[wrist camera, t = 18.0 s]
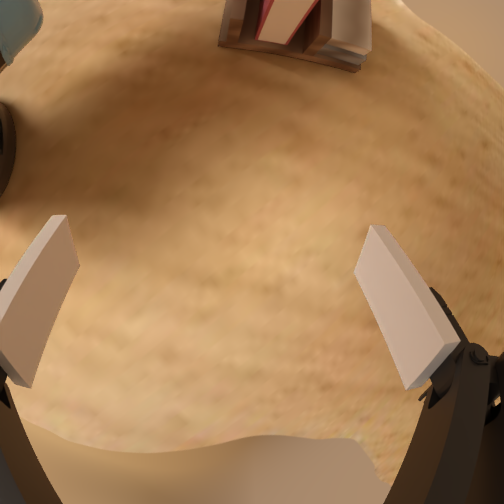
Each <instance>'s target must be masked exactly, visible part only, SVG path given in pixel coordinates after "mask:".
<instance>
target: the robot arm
mask: <svg viewBox="0 0 504 504" xmlns="http://www.w3.org/2000/svg"><path fill="white" fill-rule="evenodd" d="M42 23H43V11H42V8H41V6H40V4H39V2H38V0H0V73H1V72H2V71H3V70H4V69H5V68H6V67H7V66H10V65H11V64H12V62H13V61H14V58H15V56H16V55H17V54H18V53H19V52H20V51H21V50H22V49H23V48H24V47H25V46H26V45H27V44H28V43H29V42H30V41H31V40H32V39H33V38H34V37H35V36H36V34H37V33H38V32H39V30H40V28H41V26H42ZM15 149H16V136H15V128H14V123H13V120H12V117H11V115H10V113H9V111H8V109H7V108H6V107H5V106H4V105H3V104H2V103H0V196H1V195H2V193H3V191H4V190H5V188H6V185H7V183H8V181H9V178H10V175H11V172H12V168H13V164H14V158H15ZM79 267H80V264H79V261H78V257H77V254H76V250H75V246H74V243H73V239H72V235H71V231H70V227H69V223H68V218H67V215H52V216H51V218H50V219H49V220H48V221H47V223H46V224H45V225H44V227H43V228H42V229H41V231H40V232H39V233H38V235H37V236H36V237H35V239H34V240H33V242H32V243H31V244H30V246H29V247H28V249H27V250H26V252H25V253H24V255H23V256H22V257H21V259H20V260H19V262H18V263H17V265H16V266H15V268H14V270H13V271H12V273H11V274H10V276H9V277H8V279H3V280H2V281H1V282H0V504H63V503H62V502H61V500H60V498H59V497H58V495H57V493H56V492H55V490H54V488H53V487H52V485H51V483H50V481H49V480H48V478H47V476H46V474H45V472H44V470H43V468H42V466H41V464H40V463H39V461H38V459H37V456H36V455H35V452H34V450H33V448H32V446H31V444H30V442H29V439H28V437H27V435H26V432H25V430H24V428H23V425H22V423H21V420H20V418H19V415H18V412H17V410H16V407H15V404H14V402H13V399H12V396H11V393H10V390H9V387H8V386H7V384H6V383H5V381H6V378H7V375H8V377H9V378H10V379H11V380H12V381H13V382H14V384H16V385H20V386H23V387H27V388H31V387H32V383H33V380H34V377H35V374H36V371H37V368H38V365H39V362H40V359H41V356H42V354H43V351H44V348H45V345H46V343H47V340H48V337H49V335H50V332H51V330H52V327H53V325H54V322H55V320H56V317H57V315H58V312H59V310H60V308H61V305H62V303H63V301H64V299H65V296H66V294H67V292H68V290H69V288H70V285H71V283H72V281H73V279H74V277H75V275H76V273H77V271H78V269H79ZM354 274H355V276H356V278H357V280H358V282H359V284H360V287H361V289H362V291H363V293H364V295H365V297H366V299H367V301H368V303H369V306H370V308H371V310H372V312H373V314H374V316H375V319H376V321H377V323H378V325H379V327H380V330H381V332H382V334H383V337H384V339H385V341H386V343H387V346H388V348H389V350H390V353H391V355H392V358H393V360H394V362H395V365H396V367H397V370H398V372H399V375H400V377H401V380H402V382H403V385H404V387H405V390H409V389H414V388H418V387H421V386H422V385H423V384H424V383H425V382H426V381H427V380H428V379H429V378H430V379H431V382H432V385H431V386H430V387H429V388H428V389H427V390H426V391H425V392H424V393H423V394H422V395H421V396H420V398H419V399H418V400H419V401H421V400H422V399H423V398H424V397H425V396H426V399H425V401H424V405H423V409H422V412H421V415H420V418H419V421H418V424H417V427H416V429H415V432H414V435H413V438H412V440H411V443H410V446H409V448H408V451H407V453H406V456H405V458H404V461H403V463H402V465H401V468H400V470H399V472H398V474H397V477H396V479H395V481H394V483H393V485H392V487H391V490H390V492H389V494H388V496H387V498H386V500H385V502H384V504H504V352H503V353H502V354H501V355H500V356H499V357H497V356H490V355H488V353H487V351H486V350H485V349H484V348H483V347H482V346H480V345H479V344H476V343H469V341H468V339H467V338H466V336H465V334H464V332H463V331H462V329H461V327H460V326H459V324H458V322H457V321H456V319H455V317H454V316H453V315H452V312H451V311H450V309H449V308H447V304H446V303H445V301H444V300H443V298H442V297H441V295H440V294H438V293H437V292H436V291H435V290H434V289H433V288H432V287H428V286H427V284H426V283H425V281H424V280H423V278H422V277H421V275H420V274H419V272H418V271H417V269H416V268H415V266H414V265H413V264H412V262H411V261H410V259H409V258H408V256H407V255H406V254H405V252H404V251H403V249H402V248H401V247H400V245H399V244H398V242H397V241H396V240H395V238H394V237H393V236H392V234H391V233H390V232H389V230H388V229H387V228H386V226H385V225H372V224H371V225H370V228H369V231H368V234H367V237H366V240H365V242H364V245H363V248H362V251H361V254H360V256H359V259H358V262H357V265H356V267H355V270H354ZM499 396H500V399H501V402H500V403H499V404H498V405H497V406H495V402H494V400H496V399H497V398H498V397H499Z"/></svg>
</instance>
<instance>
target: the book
mask: <svg viewBox="0 0 504 504" xmlns="http://www.w3.org/2000/svg"><path fill="white" fill-rule="evenodd" d="M318 1H319V0H260V5H259V12H258V19H257V26H256V33H255V40H259V41H265V42H271V43H277V44H283V45H288V43H289V42H290V40H291V39H292V37H293V36H294V34H295V33H296V31H297V30H298V28H299V27H300V26H301V24H302V23H303V21H304V20H305V18H306V17H307V16H308V14H309V13H310V11H311V10H312V9H313V7H314V6H315V5H316V3H317V2H318Z"/></svg>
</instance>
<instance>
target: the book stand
mask: <svg viewBox="0 0 504 504" xmlns="http://www.w3.org/2000/svg"><path fill="white" fill-rule="evenodd" d="M259 5H260V0H226V4H225V9H224V14H223V19H222V24H221V30H220V36H219V42H218V46H221V47H231V48H239V49H247V50H254V51H261V52H267V53H273V54H279V55H284V56H289V57H294V58H299V59H303V60H308V61H312V62H316V63H321V64H325V65H328V66H332V67H336V68H340V69H343V70H347V71H350V72H353V73H356V72H357V71H359V70H361V63H363V62H364V61H366V54H367V53H369V52H370V51H372V19H371V0H319V1H318V2H317V3H316V5H315V6H314V7H313V9H312V10H311V11H310V13H309V14H308V16H307V17H306V18H305V20H304V21H303V23H302V24H301V26H300V27H299V28H298V30H297V31H296V33H295V34H294V36H293V37H292V39H291V40H290V42H289V43H288V45H283V44H277V43H271V42H265V41H259V40H255V33H256V26H257V19H258V12H259Z"/></svg>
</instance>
